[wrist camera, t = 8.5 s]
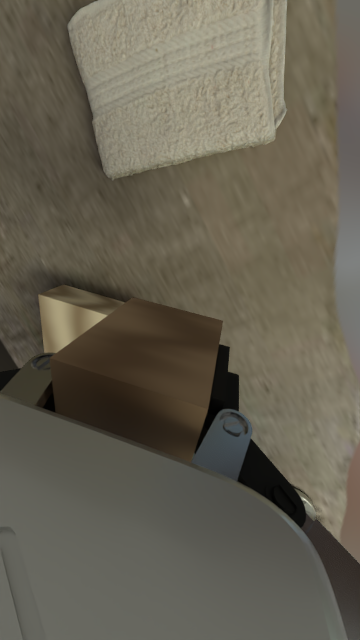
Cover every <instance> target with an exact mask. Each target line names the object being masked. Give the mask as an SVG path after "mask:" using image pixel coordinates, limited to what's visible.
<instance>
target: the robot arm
mask: <svg viewBox="0 0 360 640" xmlns="http://www.w3.org/2000/svg"><path fill="white" fill-rule="evenodd" d="M229 349H230V347H228V346H224V345H221V344H219V347H218V353H217V359H216V365H215V371H214V377H213V383H212V389H211V395H210V401H209V407H208V411H207V414H206V418H205V421H204V424H203V427H202V430H201V433H200V436H199V439H198V442H197V445H196V448H195V451H194V453H195V456H194V458H193V460H192V461H191V462H189V461H186V460H183V459H181V458H178V457H175V456H173V455H170V454H167V453H165V452H162V451H159V450H156V449H154V448H151V447H148V446H146V445H143V444H140V443H137V442H135V441H132V440H129V439H127V438H124V437H121V436H118V435H116V434H113V433H110V432H107V431H105V430H102V429H99V428H96V427H94V426H91V425H88V424H85V423H82V422H80V421H77V420H74V419H71V418H69V417H66V416H63V415H60V414H57V413H56V412H55V403H54V394H53V385H52V376H51V367H50V357H52V356H53V355H54V354H56V353H50V352H48V353H42V354H39V355H36V356H34V357H32V358H31V359H30V360H29V361H28V362H27V363H26V364H25V365H24V366H23V367H22V368H20V369H16V370H9V371H3V372H0V640H360V564H359V563H358V562H357V560H356V559H355V558H354V557H353V556H352V555H351V554H350V553H349V552H348V551H347V550H346V549H345V548H344V547H343V546H342V545H341V544H340V543H339V542H338V541H337V540H336V539H335V538H334V537H333V535H332V534H331V532H330V531H328V530H327V529H326V528H325V527H324V526H323V525H322V524H321V523H320V522H319V521H318V520H317V519H315V516H316V514H315V509H314V506H313V503H312V502H311V500H310V499H309V498H308V497H307V496H306V495H305V494H304V493H302V492H301V491H299V490H297V489H295V488H293V487H292V486H291V484H290V483H289V482H288V481H287V480H286V479H285V477H284V476H283V475H282V474H281V473H280V472H279V470H278V469H277V468H276V467H275V466H274V465H273V464H272V462H271V461H270V460H269V459H268V458H267V457H266V455H265V454H264V453H263V452H262V451H261V450H260V448H259V447H258V446H257V445H256V444H255V443H254V442H253V440H252V439H251V435H252V426H251V423H250V422H249V420H248V419H247V418H246V417H245V416H244V415H243V414H242V413H240V412H239V375H237V374H234V373H231V372H228V361H229Z"/></svg>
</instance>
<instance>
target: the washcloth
mask: <svg viewBox="0 0 360 640" xmlns="http://www.w3.org/2000/svg"><path fill="white" fill-rule="evenodd" d="M286 10H287V0H98V1H94V2H93V3H91V4H89V5H87V6H85V7H82V8H81V9H80V10H78V11H77V13H76V14H75V15H74V16H73V17H72V19H71V20H70V22H69V23H68V25H67V28H68V32H69V36H70V44H71V45H72V49H73V54H74V56H75V59H76V63H77V66H78V68H79V72H80V75H81V77H82V81H83V84H84V85H85V87H86V91H87V95H88V100H89V103H90V107H91V110H92V113H93V120H92V125H93V129H94V132H95V136H96V139H95V140H96V142H97V145H98V151H99V154H100V158H101V162H102V167H103V171H104V172H105V174H106V176H107V177H108V178H110V179H112V180H114V179H115V178H121V177H123V176H128V175H130V176H132V175H133V174H134V173H138V174H139V173H141V172H143V171H146V170H150V169H151V170H152V169H156V168H161V167H168V166H170V165H172V164H174V165H177V164H181V163H182V162H183V163H185V162H187V161H191V160H193V159H195V158H201V157H204V156H210V155H212V154H215V153H221V152H223V153H224V152H227V151H228V150H229V151H230V150H237V149H240V148H242V149H243V148H245V147H246V148H247V147H250V146H252V148H253V147H254V146H257V145H261V144H263V145H266V144H268V143H270V142H273V141H274V140H275V136H276V128H277V127H278V126H279V124H280V123H281V121H282V119H283V118H284V116H285V114H286V111H287V109H286V108H285V106H286V105H285V102H284V65H285V42H286Z"/></svg>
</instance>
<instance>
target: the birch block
mask: <svg viewBox="0 0 360 640" xmlns="http://www.w3.org/2000/svg"><path fill="white" fill-rule="evenodd" d="M38 296H39V305H40V315H41V324H42V334H43V343H44V353H48V352H50V353H57V352H58V351H60V350H61V349H63V348H64V347H65V346H67V345H68V344H69V343H71V342H72V341H73V340H75V339H76V338H78V337H79V336H80V335H82V334H83V333H84V332H86V331H87V330H89V329H90V328H91V327H93V326H94V325H95V324H97V323H98V322H100V321H101V320H102V319H104V318H105V317H106V316H108V315H109V314H111V313H112V312H113V311H115V310H116V309H117V308H119V307H120V306H122V305H123V304H124V303H125V302H122V301H118V300H115V299H112V298H108V297H105V296H101V295H98V294H94V293H91V292H87V291H84V290H81V289H77V288H74V287H70V286H67V285H61V286H59V287H56V288H53V289H51V290H48V291H46V292H43V293H41V294H38Z"/></svg>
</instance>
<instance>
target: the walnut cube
mask: <svg viewBox="0 0 360 640" xmlns="http://www.w3.org/2000/svg"><path fill="white" fill-rule="evenodd" d="M222 323H223V321H221V320H218V319H214V318H210V317H206V316H202V315H199V314H195V313H191V312H187V311H183V310H180V309H176V308H172V307H168V306H164V305H160V304H157V303H153V302H149V301H145V300H141V299H138V298H134V297H133V298H131V299H130V300H128V301H127V302H126V303H124V304H123V305H122V306H120V307H119V308H117V309H116V310H115V311H113V312H112V313H111V314H109V315H108V316H106V317H105V318H104V319H102V320H101V321H100V322H98V323H97V324H95V325H94V326H93V327H91V328H90V329H89V330H87V331H86V332H84V333H83V334H82V335H80V336H79V337H78V338H76V339H75V340H73V341H72V342H71V343H69V344H68V345H67V346H65V347H64V348H63V349H61V350H60V351H58V352H57V353H56V354H54V355H53V356H52V357H50V367H51V376H52V385H53V394H54V403H55V412H56V413H57V414H60V415H63V416H66V417H69V418H71V419H74V420H77V421H80V422H82V423H85V424H88V425H91V426H94V427H96V428H99V429H102V430H105V431H107V432H110V433H113V434H116V435H118V436H121V437H124V438H127V439H129V440H132V441H135V442H137V443H140V444H143V445H146V446H148V447H151V448H154V449H156V450H159V451H162V452H165V453H167V454H170V455H173V456H175V457H178V458H181V459H183V460H186V461H189V462H191V461H192V458H193V455H194V451H195V448H196V445H197V442H198V439H199V436H200V433H201V430H202V427H203V424H204V421H205V418H206V414H207V411H208V407H209V401H210V395H211V389H212V383H213V377H214V371H215V365H216V359H217V353H218V347H219V341H220V335H221V329H222Z"/></svg>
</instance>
